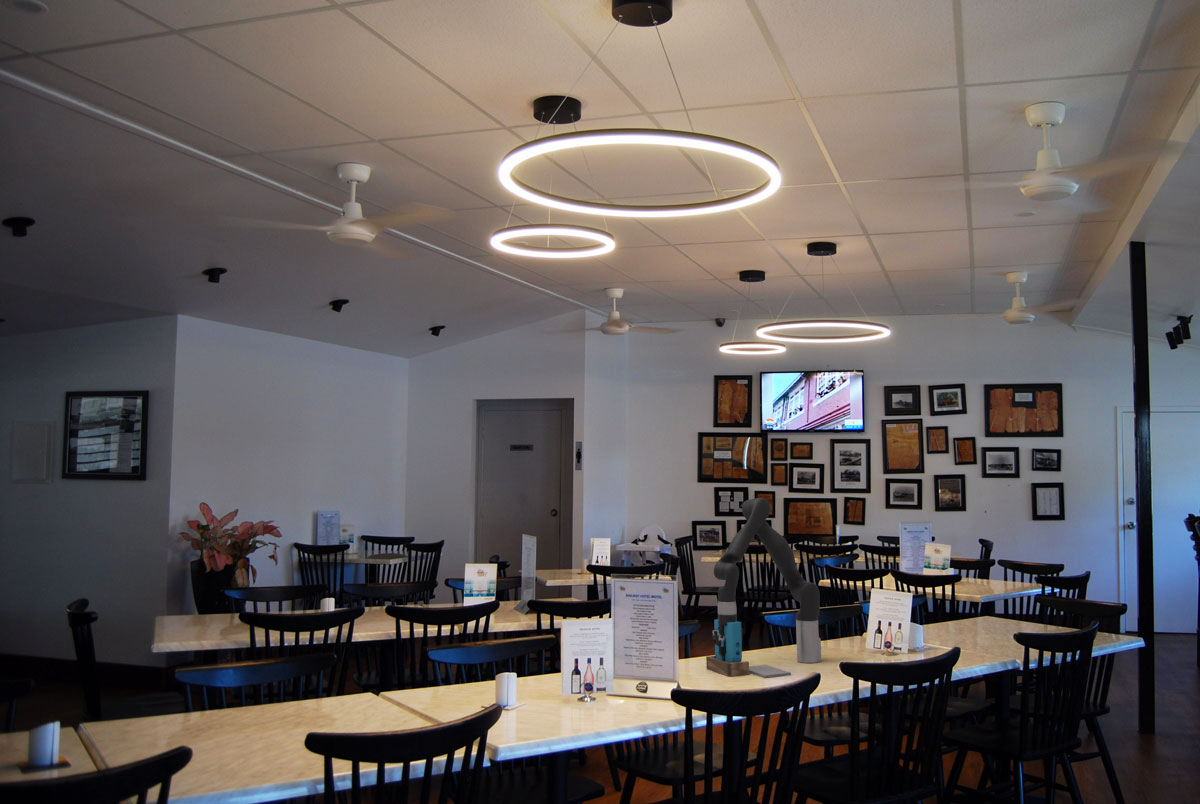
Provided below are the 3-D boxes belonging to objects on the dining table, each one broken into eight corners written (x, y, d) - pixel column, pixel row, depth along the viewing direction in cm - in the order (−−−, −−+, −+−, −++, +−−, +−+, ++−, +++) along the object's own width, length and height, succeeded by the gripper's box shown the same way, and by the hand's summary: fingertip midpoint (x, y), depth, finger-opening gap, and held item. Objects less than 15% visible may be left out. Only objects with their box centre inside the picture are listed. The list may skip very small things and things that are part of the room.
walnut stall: (725, 666, 374) (725, 654, 374) (749, 674, 358) (748, 661, 358) (706, 668, 370) (706, 656, 370) (729, 676, 354) (728, 663, 355)
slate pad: (765, 667, 372) (765, 664, 372) (791, 675, 356) (790, 672, 356) (740, 669, 367) (740, 667, 368) (765, 678, 351) (765, 675, 351)
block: (743, 673, 360) (742, 622, 362) (733, 674, 358) (732, 623, 360) (723, 668, 371) (722, 618, 372) (714, 669, 368) (713, 619, 370)
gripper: (737, 610, 373) (738, 652, 371) (707, 612, 367) (708, 655, 365) (747, 612, 366) (748, 655, 364) (716, 615, 360) (717, 658, 358)
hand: (728, 655), depth 365 cm, fingers closed on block, 5 cm apart
